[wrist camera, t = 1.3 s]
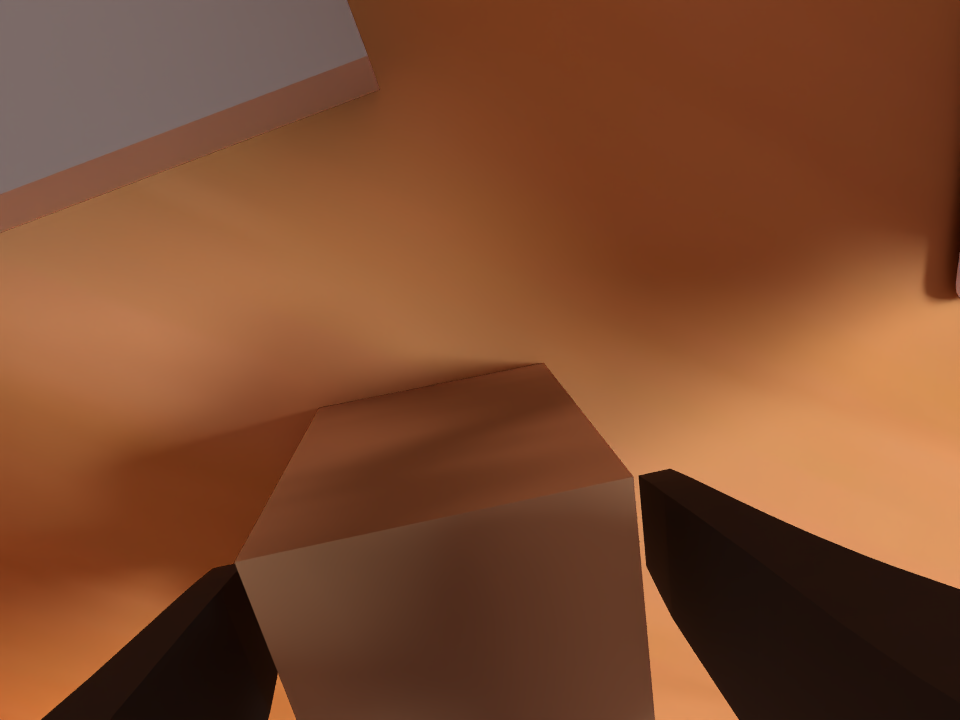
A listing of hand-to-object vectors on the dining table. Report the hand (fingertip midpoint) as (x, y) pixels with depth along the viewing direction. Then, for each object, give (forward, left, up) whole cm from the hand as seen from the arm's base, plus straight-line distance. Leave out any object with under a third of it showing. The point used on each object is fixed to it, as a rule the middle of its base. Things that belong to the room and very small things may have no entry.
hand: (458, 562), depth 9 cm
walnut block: (0, 0, -3) cm, 3 cm away
